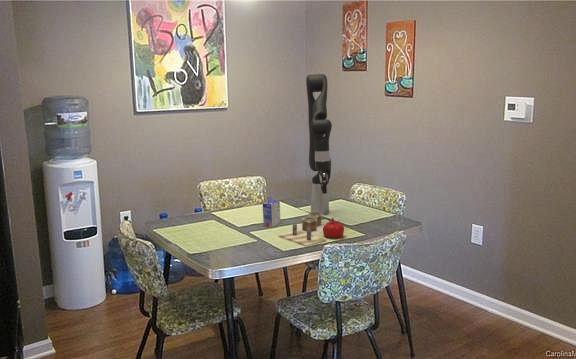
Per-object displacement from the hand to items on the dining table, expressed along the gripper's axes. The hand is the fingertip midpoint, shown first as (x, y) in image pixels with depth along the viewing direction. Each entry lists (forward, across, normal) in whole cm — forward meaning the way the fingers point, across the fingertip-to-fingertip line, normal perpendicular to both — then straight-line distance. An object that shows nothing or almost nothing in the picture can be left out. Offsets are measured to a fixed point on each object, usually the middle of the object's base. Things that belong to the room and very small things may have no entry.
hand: (323, 191), depth 270 cm
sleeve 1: (+17, +10, -9) cm, 21 cm away
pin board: (+18, +23, -13) cm, 32 cm away
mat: (+17, +6, -7) cm, 19 cm away
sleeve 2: (+17, +1, -6) cm, 18 cm away
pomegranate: (+18, +20, +2) cm, 27 cm away
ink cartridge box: (+16, -2, -27) cm, 32 cm away
